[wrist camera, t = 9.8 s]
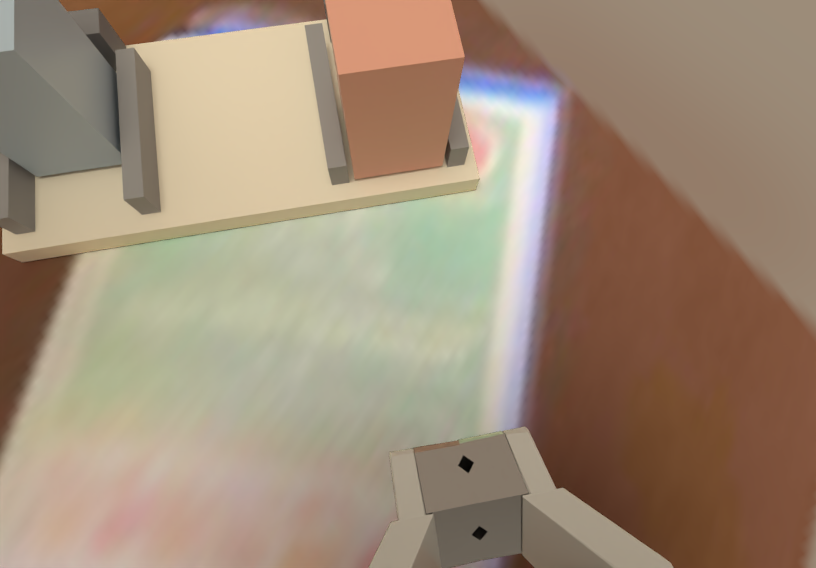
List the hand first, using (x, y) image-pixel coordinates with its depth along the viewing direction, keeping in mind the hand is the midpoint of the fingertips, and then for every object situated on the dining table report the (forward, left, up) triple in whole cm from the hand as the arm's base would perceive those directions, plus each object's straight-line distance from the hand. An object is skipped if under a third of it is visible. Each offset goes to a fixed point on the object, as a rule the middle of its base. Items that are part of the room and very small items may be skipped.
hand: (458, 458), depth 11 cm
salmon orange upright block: (-9, +14, -14) cm, 22 cm away
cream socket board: (-18, +10, -16) cm, 26 cm away
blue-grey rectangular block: (-25, +5, -14) cm, 29 cm away
